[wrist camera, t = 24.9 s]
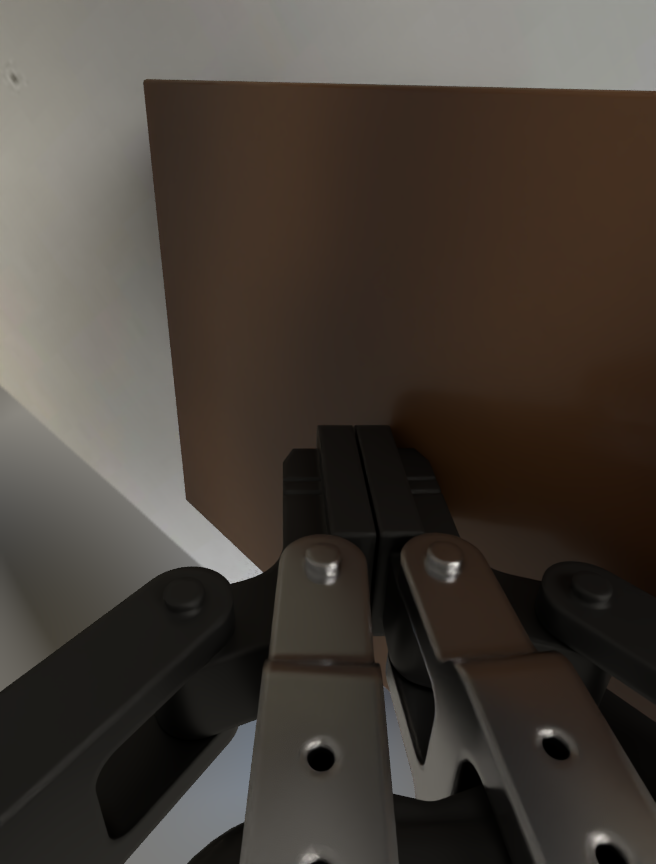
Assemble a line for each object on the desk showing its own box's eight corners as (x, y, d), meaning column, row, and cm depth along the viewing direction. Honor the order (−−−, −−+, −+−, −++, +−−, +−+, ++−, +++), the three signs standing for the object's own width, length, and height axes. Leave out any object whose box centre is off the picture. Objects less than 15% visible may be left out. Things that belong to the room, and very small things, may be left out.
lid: (1083, 103, 5) (1085, 100, 5) (625, 866, 12) (606, 898, 11) (171, 80, 16) (141, 78, 15) (204, 492, 22) (185, 500, 22)
